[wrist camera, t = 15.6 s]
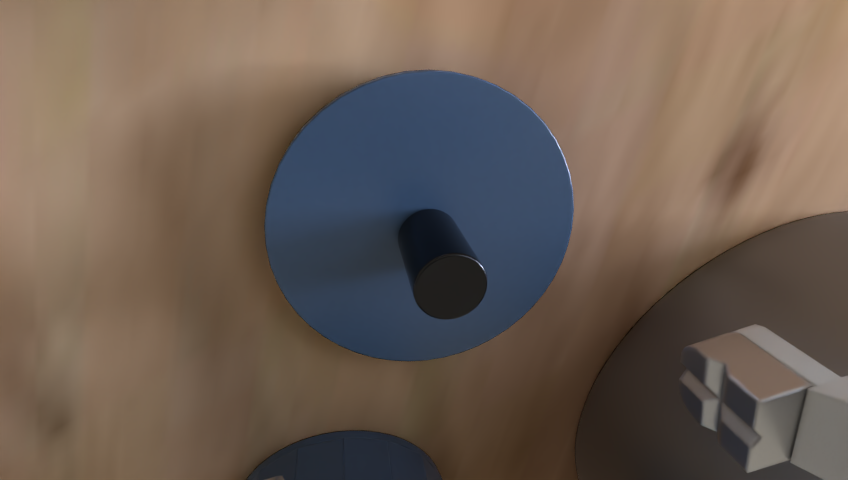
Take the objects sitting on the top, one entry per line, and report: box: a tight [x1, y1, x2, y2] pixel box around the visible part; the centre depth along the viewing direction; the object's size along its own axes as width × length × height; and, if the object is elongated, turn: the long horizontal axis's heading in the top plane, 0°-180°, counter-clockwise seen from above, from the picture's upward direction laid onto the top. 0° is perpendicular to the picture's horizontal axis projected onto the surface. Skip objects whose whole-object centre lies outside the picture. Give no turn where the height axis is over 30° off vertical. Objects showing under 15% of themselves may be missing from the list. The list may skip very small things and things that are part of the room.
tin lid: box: [264, 70, 574, 361], centre depth 16 cm, size 12×12×5 cm
